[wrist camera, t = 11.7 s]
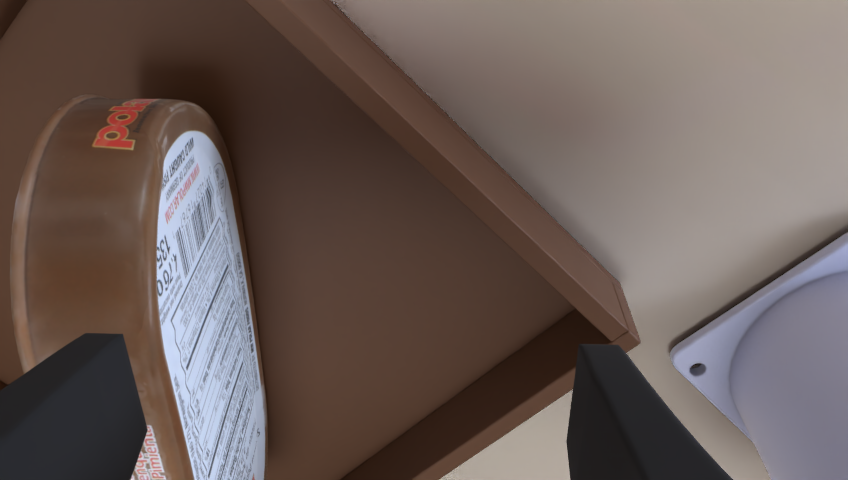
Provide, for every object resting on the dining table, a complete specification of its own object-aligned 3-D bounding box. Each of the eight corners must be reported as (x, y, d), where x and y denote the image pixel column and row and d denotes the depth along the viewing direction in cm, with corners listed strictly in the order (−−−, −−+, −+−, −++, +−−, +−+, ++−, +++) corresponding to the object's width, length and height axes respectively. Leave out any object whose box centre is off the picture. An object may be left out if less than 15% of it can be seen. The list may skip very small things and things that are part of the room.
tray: (621, 284, 23) (642, 343, 20) (260, 544, 29) (241, 613, 27) (132, -194, 17) (72, -198, 14) (-176, 269, 24) (-255, 323, 21)
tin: (124, 52, 19) (-84, 189, 12) (242, 53, 19) (107, 192, 12) (208, 462, 27) (113, 703, 19) (294, 464, 26) (230, 708, 19)
